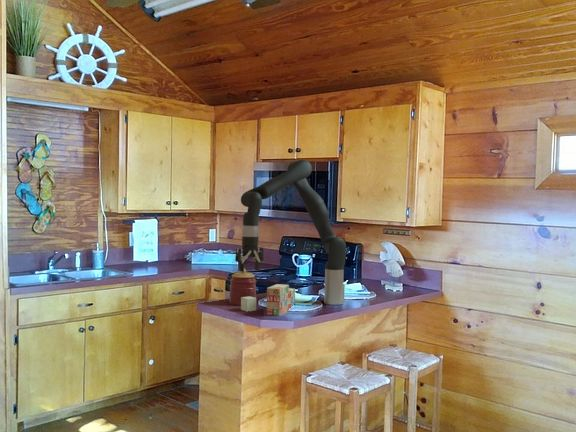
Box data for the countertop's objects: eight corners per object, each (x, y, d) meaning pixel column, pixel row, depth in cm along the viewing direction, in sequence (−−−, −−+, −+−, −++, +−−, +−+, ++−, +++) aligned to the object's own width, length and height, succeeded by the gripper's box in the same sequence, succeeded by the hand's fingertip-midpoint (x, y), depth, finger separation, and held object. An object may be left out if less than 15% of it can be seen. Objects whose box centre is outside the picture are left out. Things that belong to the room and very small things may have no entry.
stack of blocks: (282, 306, 265) (283, 281, 265) (295, 307, 263) (295, 282, 263) (266, 315, 245) (266, 287, 245) (279, 316, 243) (280, 288, 243)
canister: (236, 301, 276) (237, 266, 275) (260, 303, 271) (261, 267, 271) (224, 305, 264) (225, 268, 263) (248, 308, 259) (249, 270, 259)
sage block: (249, 309, 257) (249, 296, 257) (256, 310, 253) (256, 297, 253) (240, 310, 254) (241, 297, 254) (247, 312, 250) (247, 299, 250)
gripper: (257, 234, 260) (256, 269, 261) (232, 235, 251) (231, 270, 251) (267, 235, 254) (266, 270, 255) (242, 236, 245) (241, 272, 246)
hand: (249, 270), depth 253 cm, fingers open, 8 cm apart
